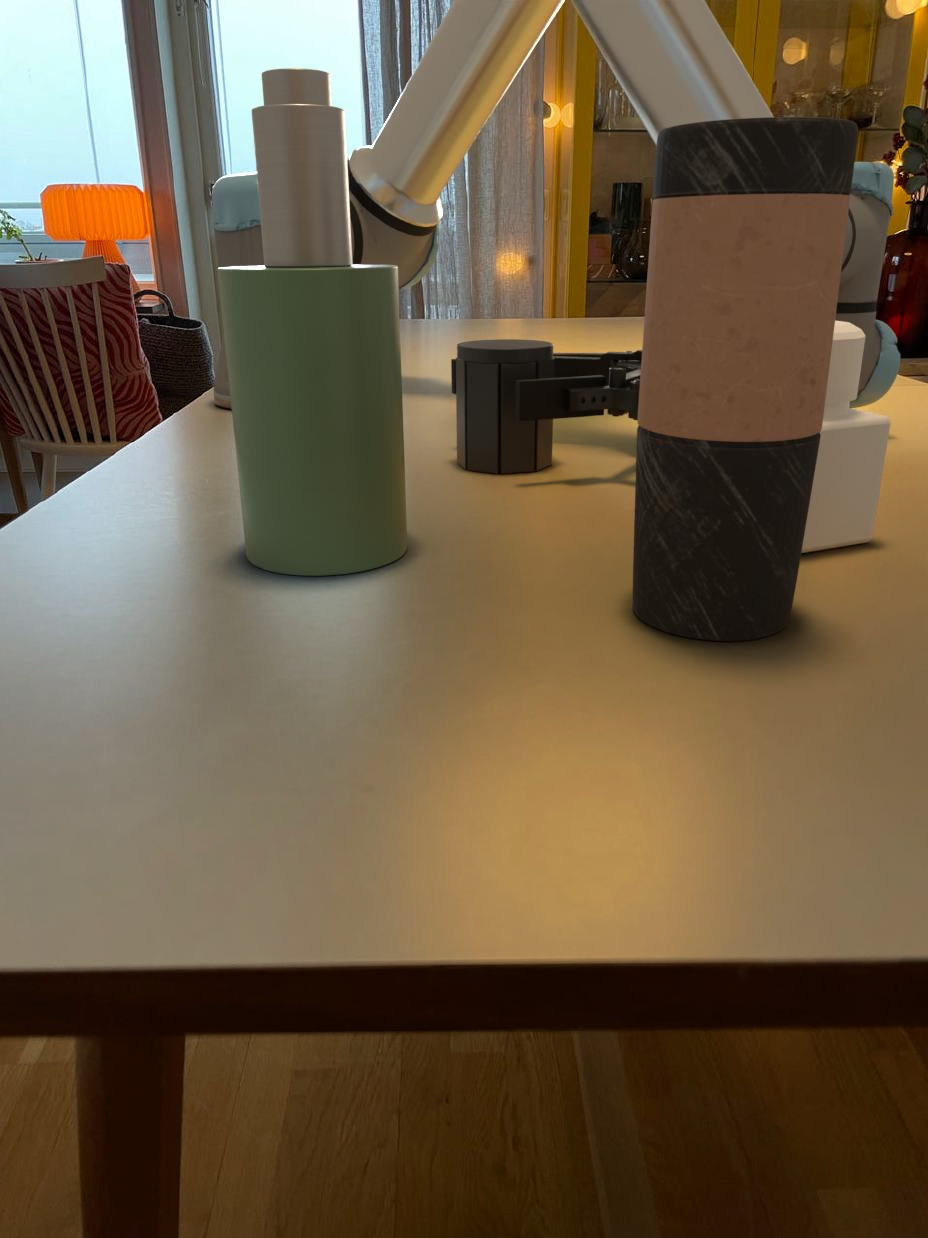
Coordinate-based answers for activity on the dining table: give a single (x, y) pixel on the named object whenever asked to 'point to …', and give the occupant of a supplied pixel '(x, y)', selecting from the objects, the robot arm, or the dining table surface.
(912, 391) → the dining table surface
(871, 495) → the medicine bottle
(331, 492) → the flask
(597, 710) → the dining table surface
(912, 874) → the dining table surface
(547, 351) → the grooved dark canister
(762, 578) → the travel mug
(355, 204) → the robot arm
